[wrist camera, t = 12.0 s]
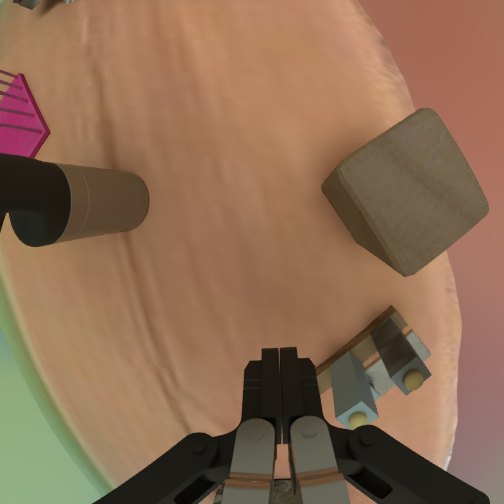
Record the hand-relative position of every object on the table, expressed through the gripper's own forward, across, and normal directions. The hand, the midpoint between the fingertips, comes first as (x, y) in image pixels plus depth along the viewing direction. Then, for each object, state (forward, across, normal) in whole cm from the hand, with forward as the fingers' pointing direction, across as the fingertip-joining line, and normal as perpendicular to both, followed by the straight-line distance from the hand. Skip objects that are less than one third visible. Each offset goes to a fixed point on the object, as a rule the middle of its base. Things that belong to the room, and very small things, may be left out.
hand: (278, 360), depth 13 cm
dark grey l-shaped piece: (+20, -12, +26) cm, 35 cm away
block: (+28, -14, +1) cm, 32 cm away
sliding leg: (+19, -12, +25) cm, 34 cm away
